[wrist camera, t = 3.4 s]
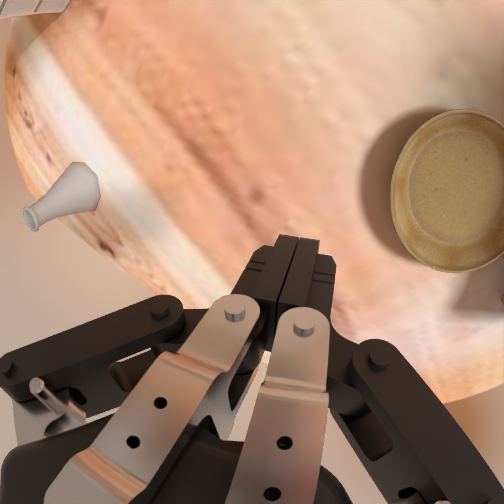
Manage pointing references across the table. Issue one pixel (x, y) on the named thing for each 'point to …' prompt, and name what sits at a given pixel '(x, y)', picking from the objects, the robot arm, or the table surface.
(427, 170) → the plant saucer
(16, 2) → the syrup box
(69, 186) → the flask
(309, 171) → the table surface
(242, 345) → the robot arm
